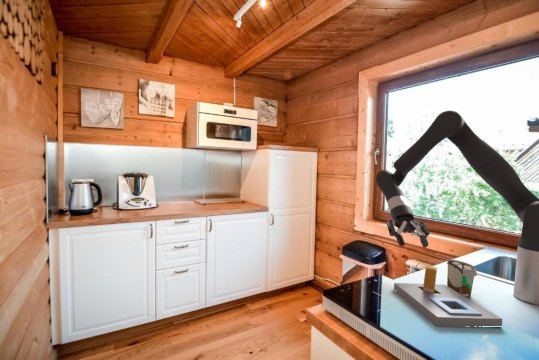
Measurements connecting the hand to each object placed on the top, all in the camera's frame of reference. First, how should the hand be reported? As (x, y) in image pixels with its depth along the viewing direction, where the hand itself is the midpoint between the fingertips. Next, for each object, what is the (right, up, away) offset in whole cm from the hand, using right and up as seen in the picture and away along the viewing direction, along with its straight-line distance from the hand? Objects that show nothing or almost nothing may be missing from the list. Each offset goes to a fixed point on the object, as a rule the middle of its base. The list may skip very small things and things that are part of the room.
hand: (414, 246), depth 99 cm
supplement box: (0, -15, -9) cm, 17 cm away
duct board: (0, -15, -15) cm, 21 cm away
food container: (+14, -16, -4) cm, 22 cm away
